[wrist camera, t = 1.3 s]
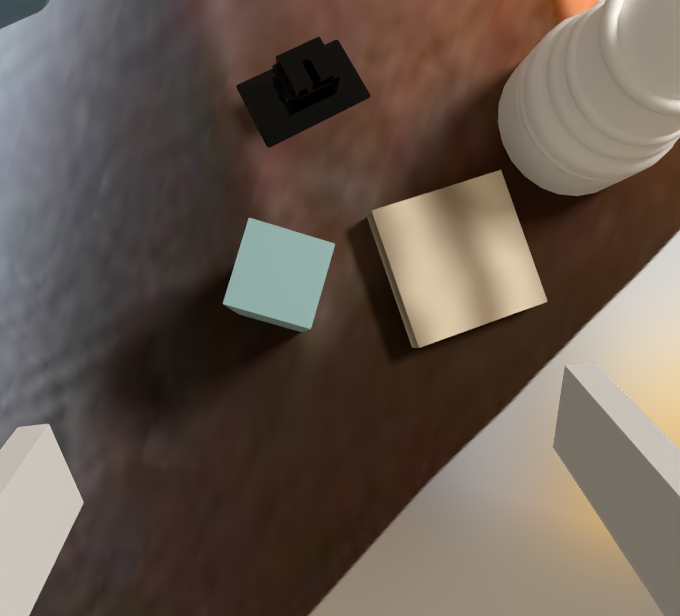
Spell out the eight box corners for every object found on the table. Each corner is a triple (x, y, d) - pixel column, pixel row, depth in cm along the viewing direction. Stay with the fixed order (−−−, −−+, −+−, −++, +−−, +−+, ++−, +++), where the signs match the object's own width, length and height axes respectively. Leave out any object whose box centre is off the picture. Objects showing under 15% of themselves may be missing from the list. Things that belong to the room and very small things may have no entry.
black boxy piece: (256, 166, 40) (254, 143, 35) (212, 85, 40) (203, 52, 35) (390, 100, 41) (404, 70, 37) (347, 23, 41) (356, -16, 37)
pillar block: (301, 332, 39) (310, 329, 28) (238, 314, 38) (222, 303, 27) (319, 270, 39) (335, 243, 28) (257, 252, 39) (248, 217, 28)
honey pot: (558, 19, 43) (757, -207, 25) (665, 120, 44) (932, -32, 26) (467, 124, 41) (610, -40, 24) (579, 227, 42) (802, 143, 24)
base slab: (410, 347, 40) (419, 347, 38) (365, 218, 40) (371, 210, 38) (531, 303, 42) (547, 301, 39) (487, 179, 42) (501, 169, 39)
